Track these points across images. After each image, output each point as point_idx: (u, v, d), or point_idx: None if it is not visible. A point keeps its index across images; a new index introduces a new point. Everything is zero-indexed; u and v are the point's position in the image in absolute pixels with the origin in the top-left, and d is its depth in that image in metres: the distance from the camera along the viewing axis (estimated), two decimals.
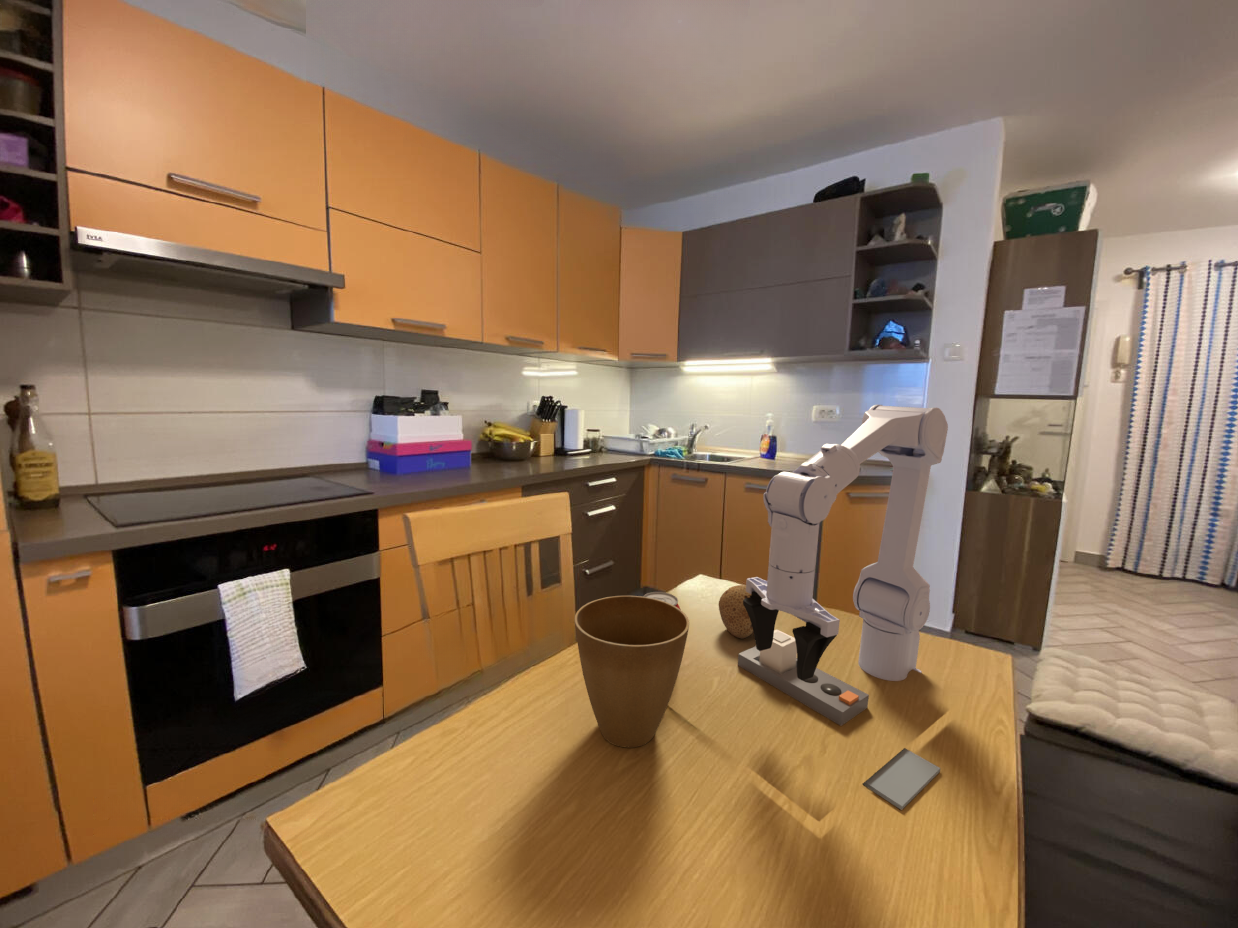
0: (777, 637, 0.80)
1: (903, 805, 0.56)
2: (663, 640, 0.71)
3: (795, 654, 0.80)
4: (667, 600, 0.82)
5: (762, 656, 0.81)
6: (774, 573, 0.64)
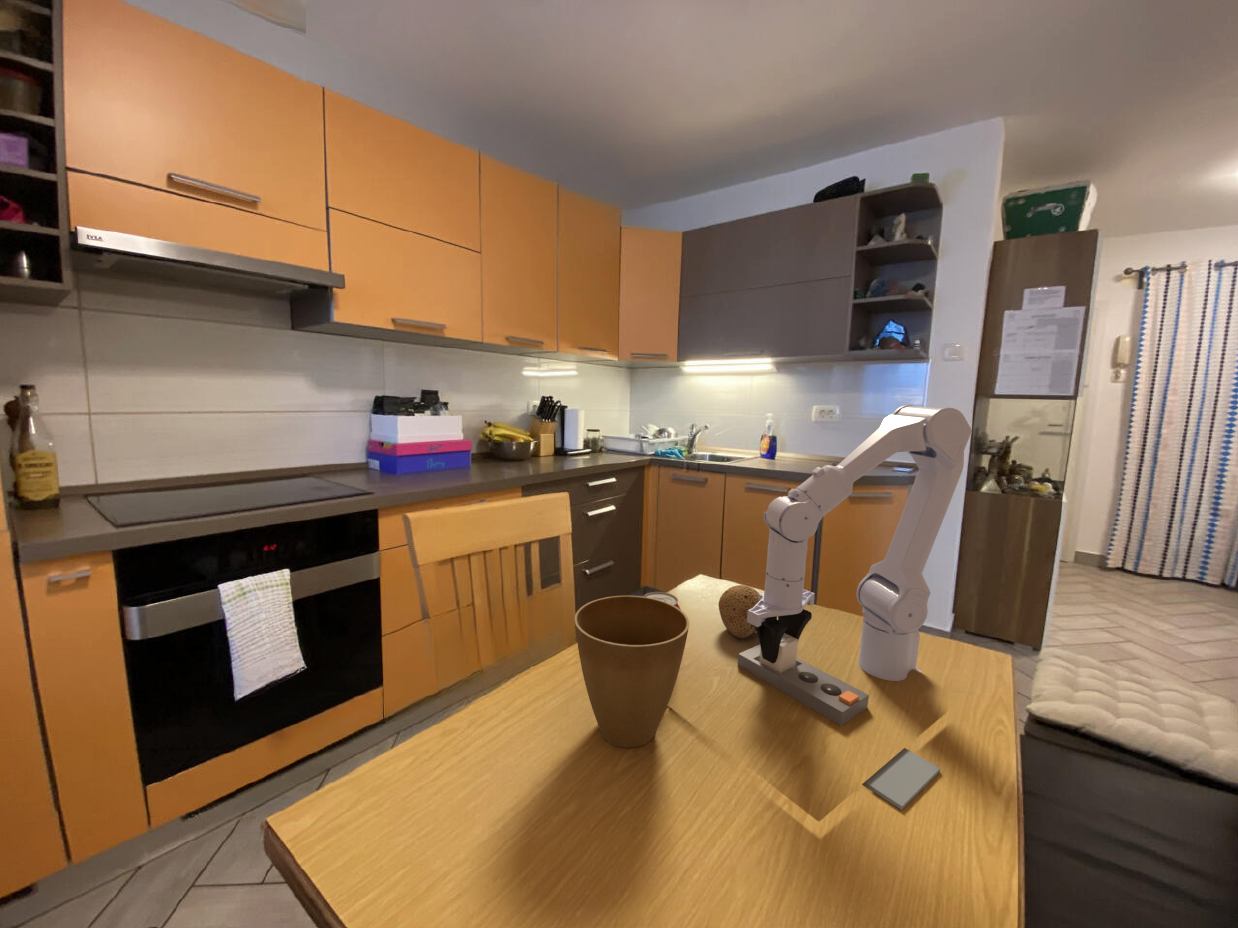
0: None
1: (903, 805, 0.56)
2: (663, 640, 0.71)
3: (795, 654, 0.80)
4: (667, 600, 0.82)
5: None
6: None
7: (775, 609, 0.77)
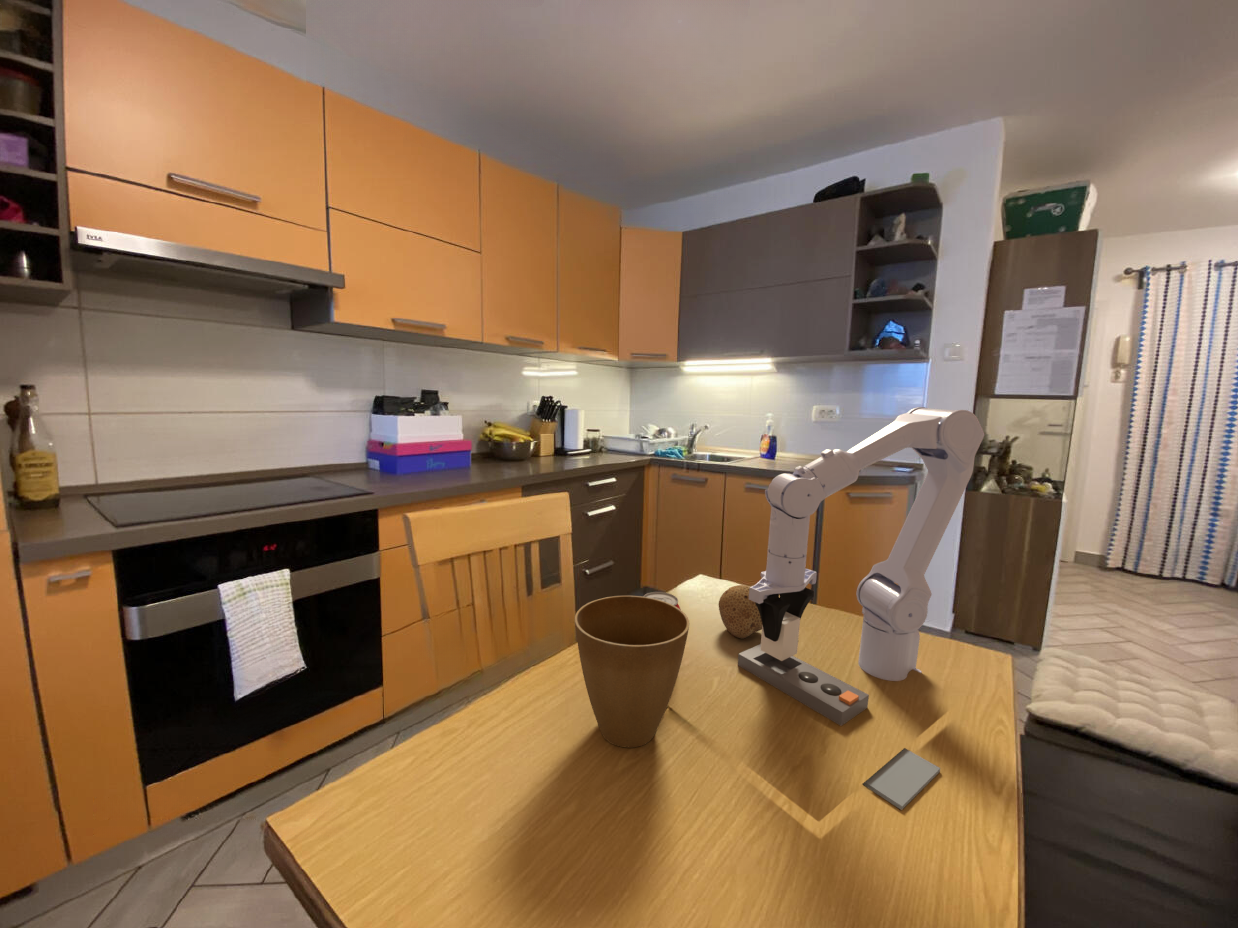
0: None
1: (903, 805, 0.56)
2: (663, 640, 0.71)
3: (797, 633, 0.79)
4: (667, 600, 0.82)
5: (764, 635, 0.80)
6: None
7: (777, 586, 0.76)
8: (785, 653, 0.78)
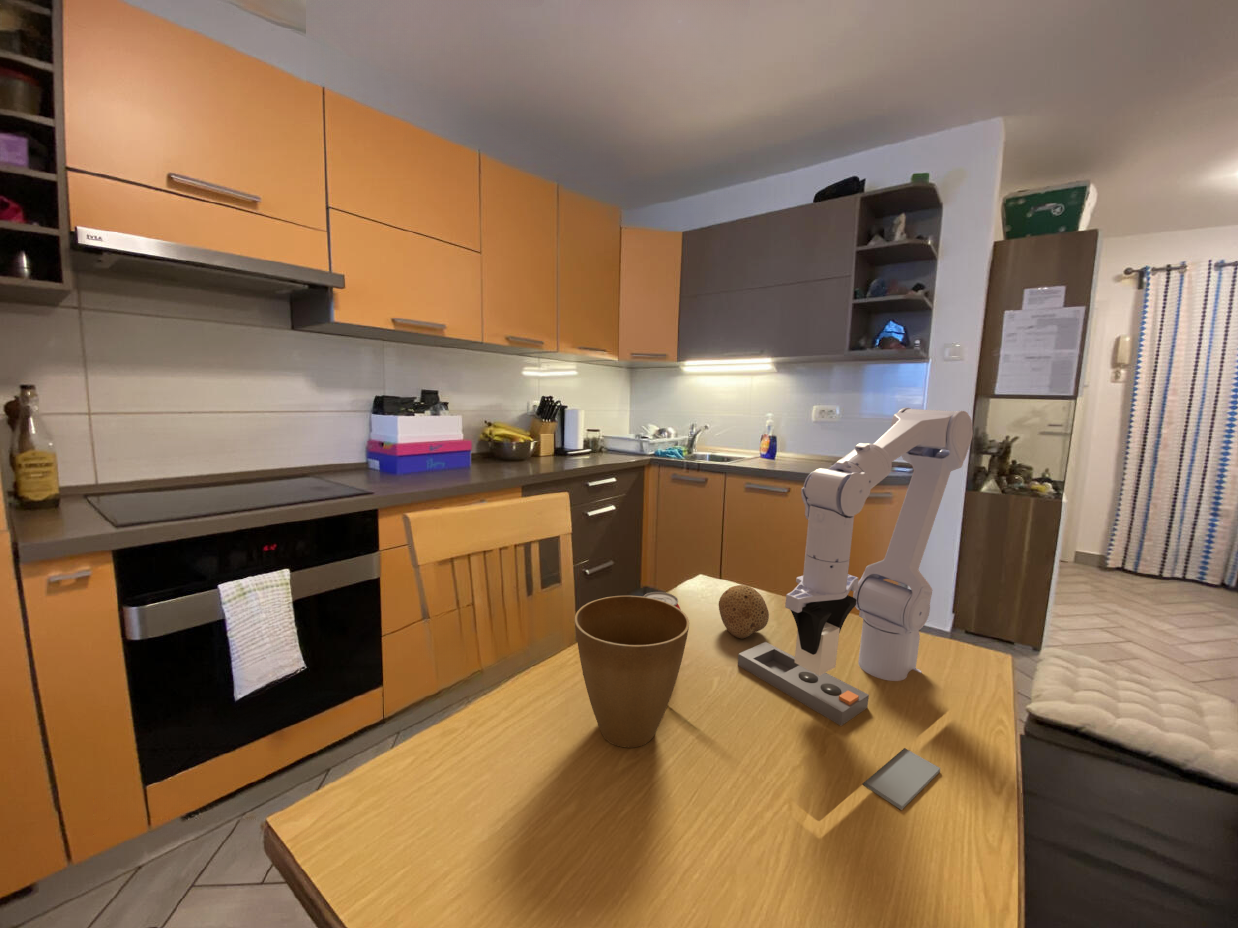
0: None
1: (903, 805, 0.56)
2: (663, 640, 0.71)
3: (836, 644, 0.72)
4: (667, 600, 0.82)
5: (798, 646, 0.73)
6: None
7: (817, 593, 0.68)
8: (823, 667, 0.70)
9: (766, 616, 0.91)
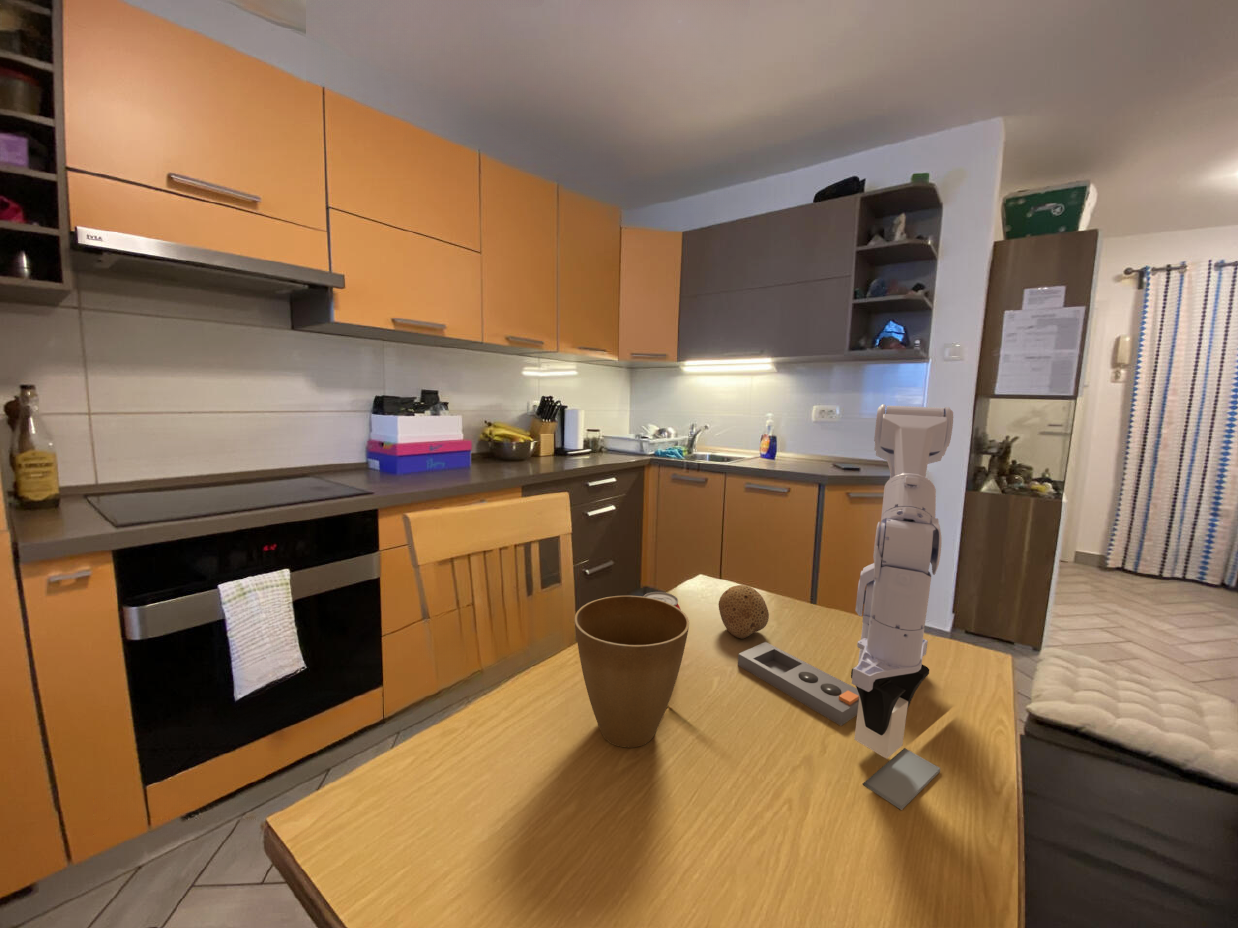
0: None
1: (903, 805, 0.56)
2: (663, 640, 0.71)
3: (904, 720, 0.62)
4: (667, 600, 0.82)
5: (860, 722, 0.63)
6: None
7: (887, 666, 0.58)
8: (891, 748, 0.61)
9: (766, 616, 0.91)
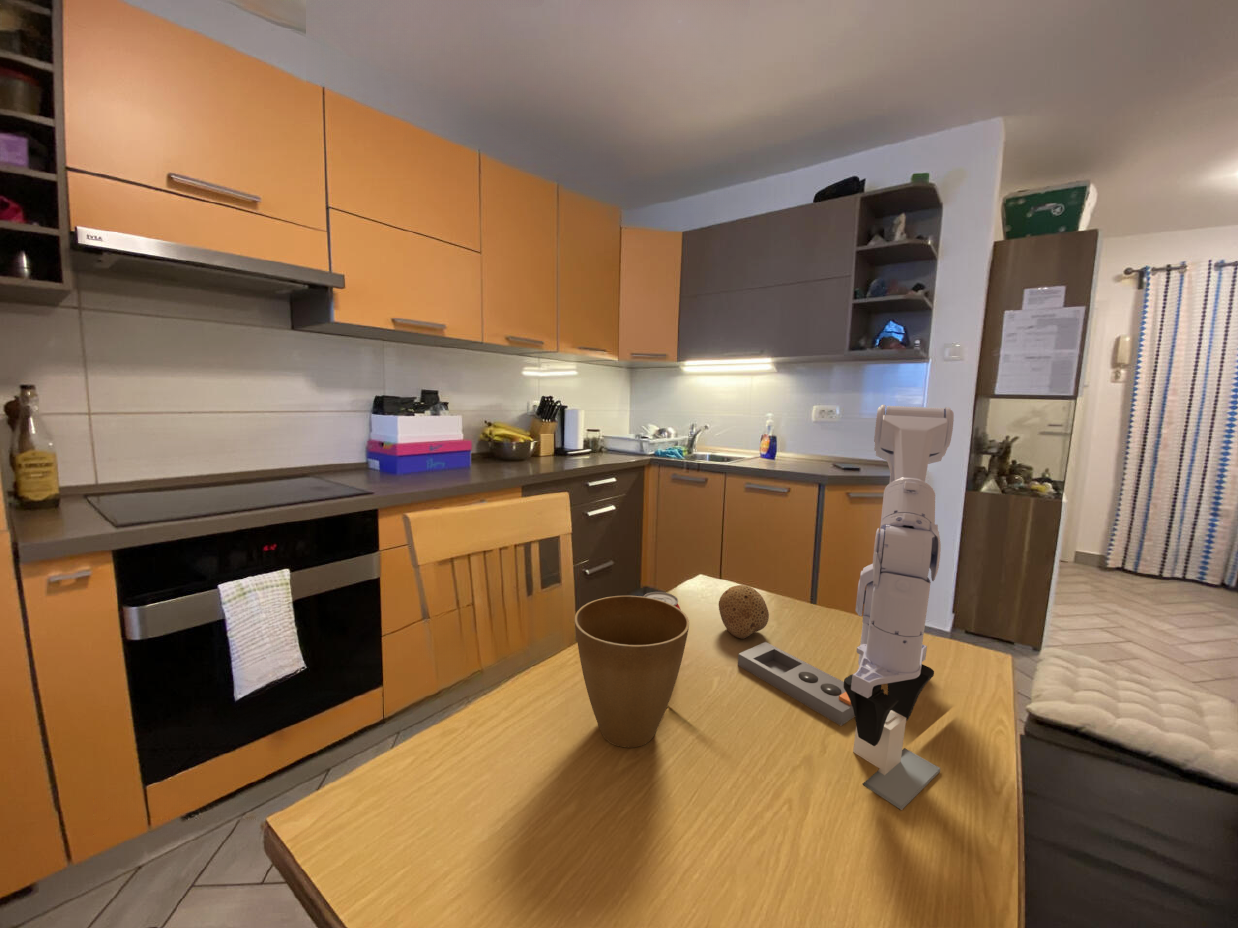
0: None
1: (903, 805, 0.56)
2: (663, 640, 0.71)
3: (902, 736, 0.62)
4: (667, 600, 0.82)
5: (858, 738, 0.63)
6: None
7: (887, 672, 0.59)
8: (889, 765, 0.61)
9: (766, 616, 0.91)
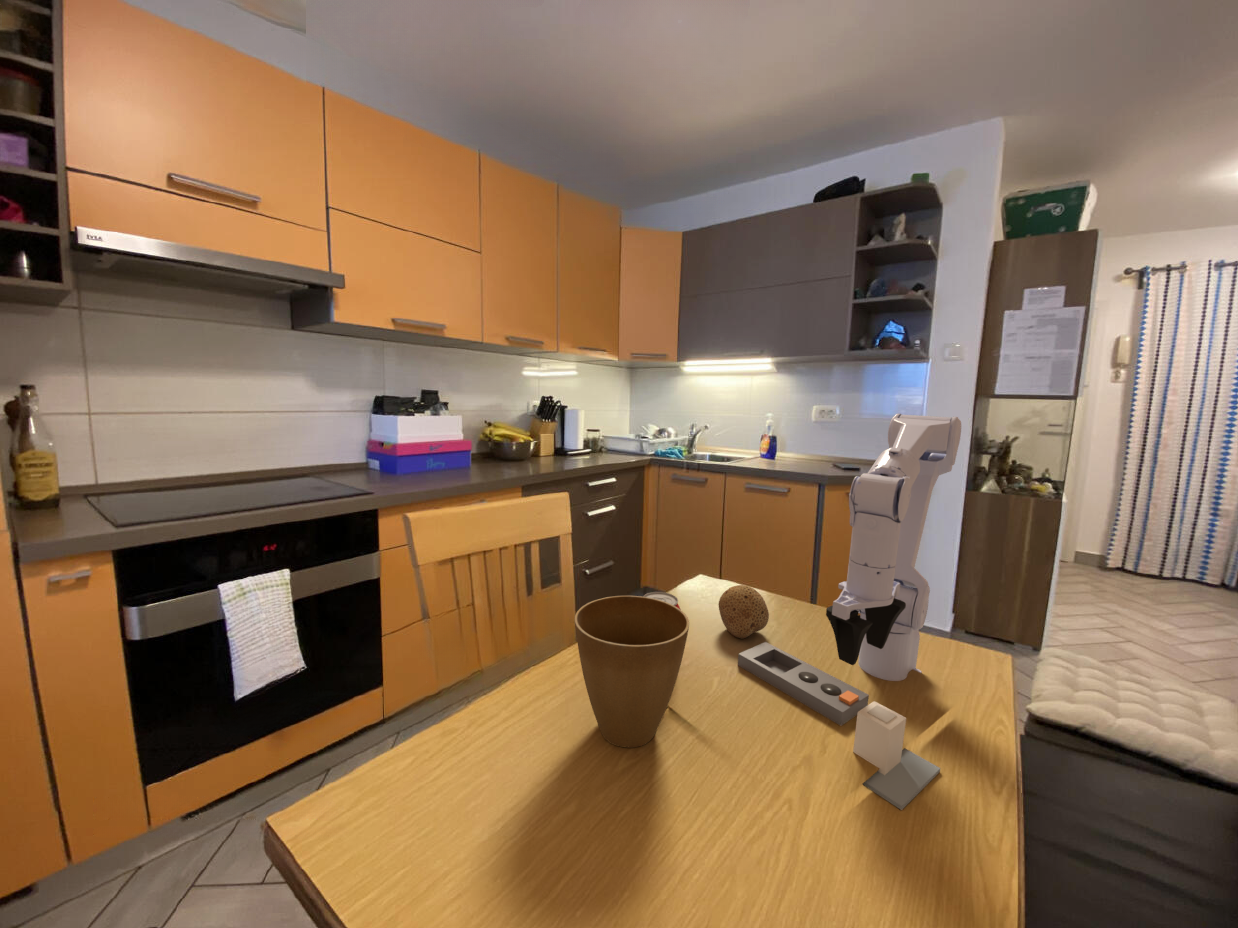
0: (879, 715, 0.62)
1: (903, 805, 0.56)
2: (663, 640, 0.71)
3: (902, 736, 0.62)
4: (667, 600, 0.82)
5: (858, 738, 0.63)
6: None
7: (863, 600, 0.68)
8: (889, 765, 0.61)
9: (766, 616, 0.91)
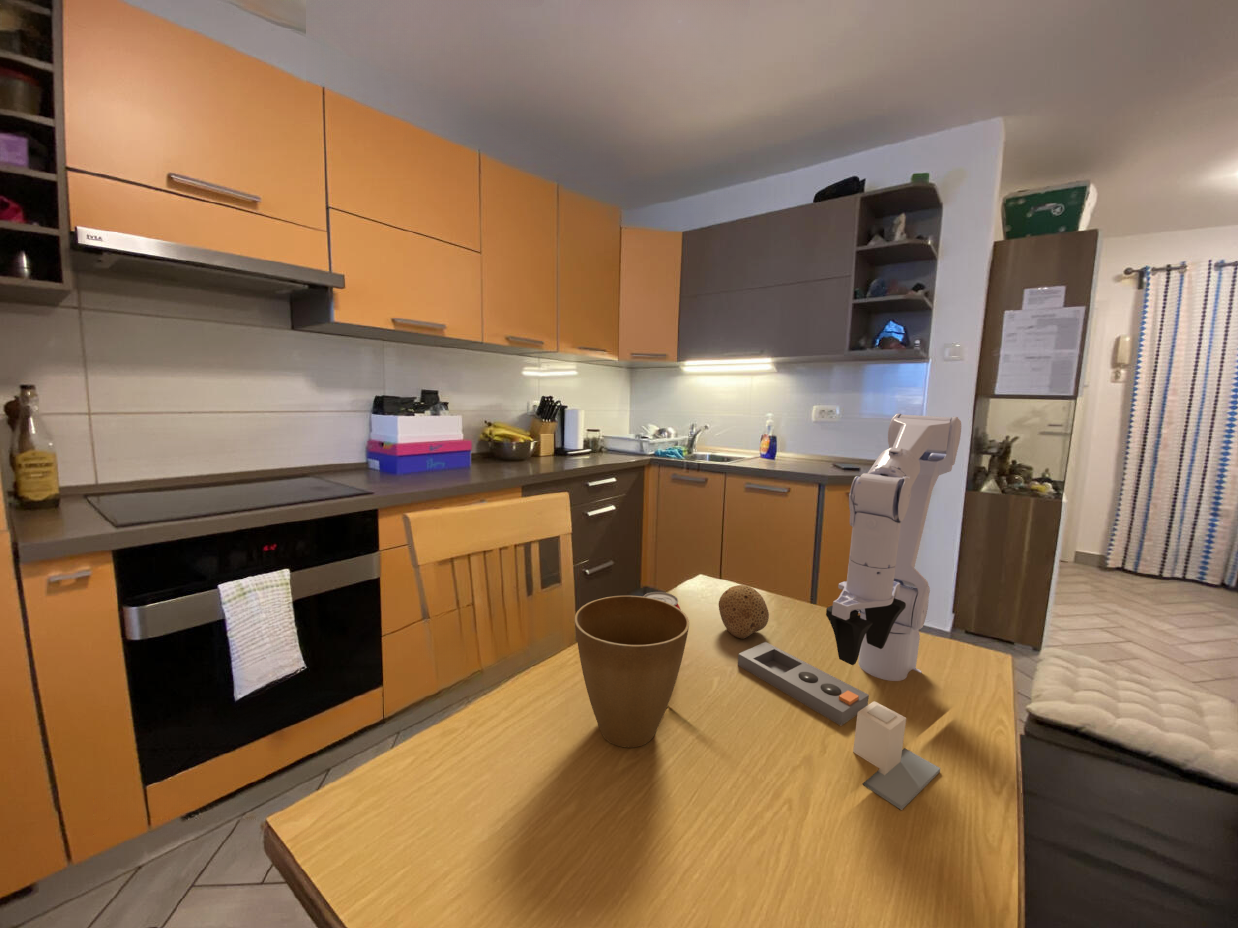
0: (879, 715, 0.62)
1: (903, 805, 0.56)
2: (663, 640, 0.71)
3: (902, 736, 0.62)
4: (667, 600, 0.82)
5: (858, 738, 0.63)
6: None
7: (863, 600, 0.68)
8: (889, 765, 0.61)
9: (766, 616, 0.91)
